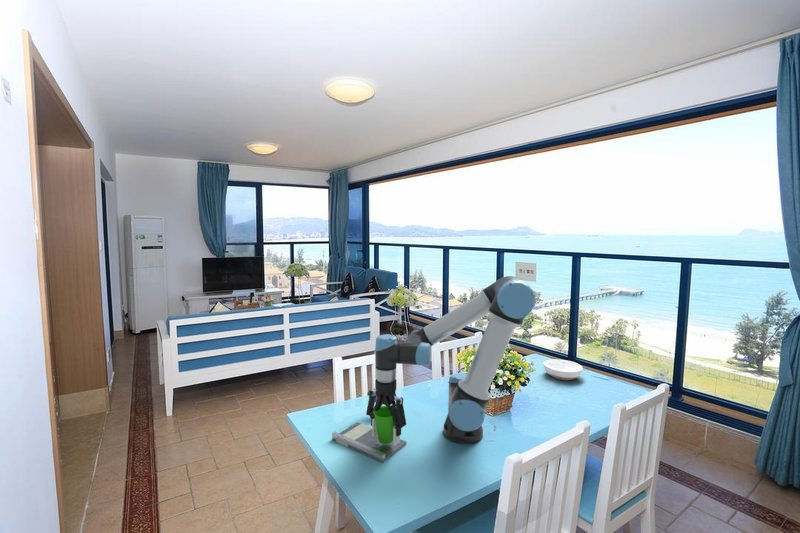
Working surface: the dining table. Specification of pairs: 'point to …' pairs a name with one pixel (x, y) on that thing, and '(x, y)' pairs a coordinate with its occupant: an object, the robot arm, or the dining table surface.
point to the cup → (384, 425)
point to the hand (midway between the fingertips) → (385, 439)
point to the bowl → (562, 369)
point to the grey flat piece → (366, 442)
